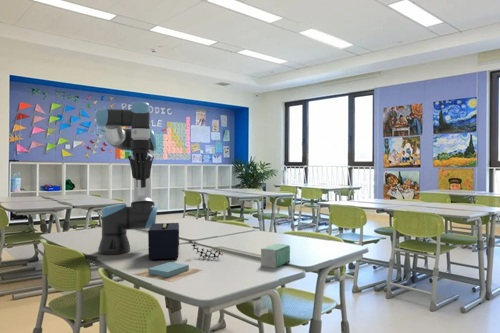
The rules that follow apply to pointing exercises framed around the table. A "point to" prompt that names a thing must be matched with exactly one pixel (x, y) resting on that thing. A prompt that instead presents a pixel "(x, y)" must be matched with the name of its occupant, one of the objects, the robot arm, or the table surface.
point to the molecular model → (206, 252)
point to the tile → (168, 269)
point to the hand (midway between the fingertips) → (141, 195)
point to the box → (275, 255)
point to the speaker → (163, 241)
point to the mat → (171, 278)
